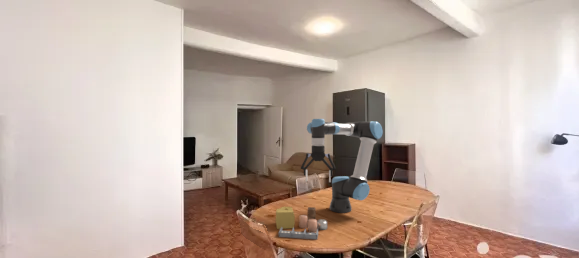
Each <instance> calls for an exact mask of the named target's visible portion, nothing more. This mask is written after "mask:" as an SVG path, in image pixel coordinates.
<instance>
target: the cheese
mask: <svg viewBox="0 0 579 258" xmlns="http://www.w3.org/2000/svg"><path fill="white" fill-rule="evenodd" d="M275 224H276V229H277V230H280V229H281V227H283V230H284V229H285V230H286V229H293V228H294V229H295V224H296V223H295V212H294V210H293V207H292V206H281V207H280V208H276V211H275Z"/></svg>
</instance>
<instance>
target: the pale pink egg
mask: <svg viewBox="0 0 579 258" xmlns="http://www.w3.org/2000/svg"><path fill="white" fill-rule="evenodd" d="M307 232H312V233H316V232H317V219H316V218H315V219H309V220H308V227H307Z"/></svg>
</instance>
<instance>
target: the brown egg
mask: <svg viewBox="0 0 579 258" xmlns="http://www.w3.org/2000/svg"><path fill="white" fill-rule="evenodd" d="M298 227H299V228H300V229H308V215H307V214H300V215H299V216H298Z"/></svg>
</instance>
